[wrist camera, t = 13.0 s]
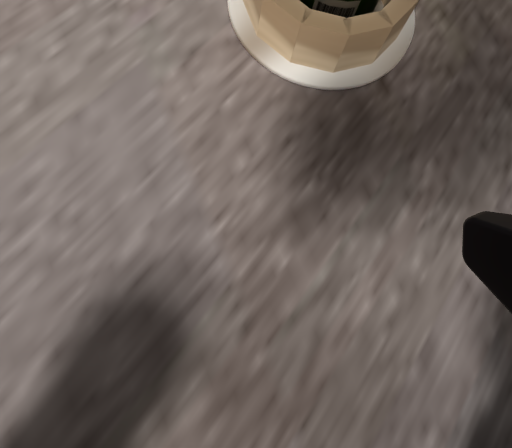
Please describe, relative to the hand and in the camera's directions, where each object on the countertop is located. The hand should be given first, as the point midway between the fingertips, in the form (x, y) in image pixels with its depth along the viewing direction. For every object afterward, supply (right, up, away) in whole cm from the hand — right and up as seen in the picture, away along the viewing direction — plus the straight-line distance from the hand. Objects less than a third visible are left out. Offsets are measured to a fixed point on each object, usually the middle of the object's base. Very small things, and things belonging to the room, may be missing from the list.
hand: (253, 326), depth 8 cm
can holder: (+4, +14, +19) cm, 24 cm away
